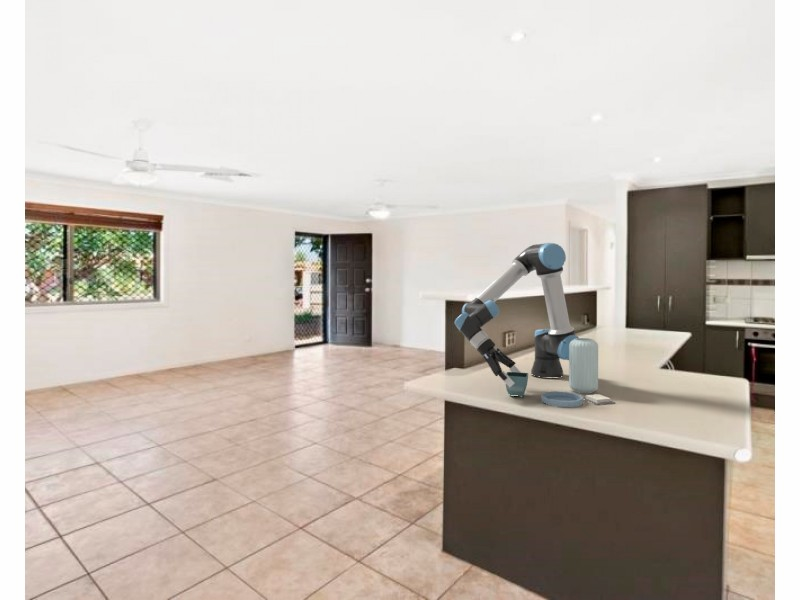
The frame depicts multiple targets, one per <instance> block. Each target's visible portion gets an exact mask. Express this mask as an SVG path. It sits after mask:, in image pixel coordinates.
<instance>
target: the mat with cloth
mask: <svg viewBox="0 0 800 600" xmlns="http://www.w3.org/2000/svg"><path fill="white" fill-rule="evenodd" d="M582 397H583V396H582ZM583 399H585V400H584V401H586V400H587V401H586V402H588V401H589V403H591V402H592V403H591V404H593V403H594V404H593V405H596V404H597V405H596V406H600V404H604V405H612V403H614V404H616V401H613V400H611V398H610V397H608V396H604V395H602V394H600V393H598V394H585V396H584V397H583ZM610 403H611V404H610Z"/></svg>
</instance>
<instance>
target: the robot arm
mask: <svg viewBox="0 0 800 600" xmlns="http://www.w3.org/2000/svg"><path fill="white" fill-rule="evenodd" d="M566 257H567V256H566V251H565V250H564V248H563V247H562V246H561V245H559V244H558V243H553V242H545V243H540V244H532V245H530V246H528V247H527V248H525V249H523V250H522V252H520V253H519V254H518V255H517V256H516V257H515V258H514V259H513V260H512V261H511V265H510V266H508V267H507V268H506V269H505V270H504V271H503V272H502V273H501V274H499V276H498V277H497V278H496V279H495V280H493V282H491V283H490V284H489V285H488V286H487V287H486V288H485V289H484V290H483V291H482V292H480V293H479V294H478V296H476V297H475V298H474V299H473V300H472V301H470V302H467V303H465V304H463V306H462V308H461V314H460V315H459V316H457V317H456V318H455V320H454V325H455V327H456V328H457V329H458V332H460V333H461V334H462V335H463V336H464V337H465V338H466V339H467V340H468V341H469V343H470V345H471V347H474V348H475V349H476V350H477V352H478V353H479V354H480V355H481V356H482V357H483V359H484V360H485V361H486V363H487V364H488V366H489V368H490V370H491V372H492V373H493V374H494V376H496V377H500V379H501V380H502V381H503V382H504V383H505V385H506V384H507V385H508V387H509V388H510V387H511V386H512V385H513V384H514V382H513V381H512V379H511V378H510V377H509V376H508V375H507V374H506V373H507V372H505V371H504V370H502V367H501V365H500V363H501V364H503V365H504V366H506V368H509V371H510V372H520V373H522V372H521V370H520V369H519V368H518V367H517V366H516V362H515V361H514V360H513V359H512V358H510V357H509V356H507V354H505V353H504V352H503V351H501V350H500V348H496V349H495V346H496V343H495V342H494V341H493V340H492V339H491V338H489V335H488V334H487V333H486V332H485V331H484V330H483V329H482V327H483V326H485V325H486V324H488V323H489V322H490V321H492V320H493V319H495V317H497V316H498V315H499V313H500V309H499V307H498V305H497V303H496V302H497V300H499V299H500V298H501V297H502V296H503V295H504V294H505V293H506V292H508V290H509V289H510V288H512V287H513V286H514V285H515V284H516V283H517V282H518V281H519V280H520V279H521V278H522V277H524V276H528V275H529V274H530V273H532V272H533V271H536V272H535V273H536V276H537V277H539V278H540V280H541V285H542V289H543V296H544V300H545V306H546V310H547V316H548V322H549V327H550V328H544V329H543V328H542V329H536V330H535V331H534V337H533V338H534V361H533V363H532V367H531V370H530V375H531V374H533V375H535V376H540V377H561V376H563V377H564V370H563V366H562V364H561V360H563V361H565V360H566V361H569V344H570V342H571V341H572V340H574V339H575V338H580V337H579V336H577V335H576V330H575V327H573V326H571V324H570V317H569V313H568V307H567V302H566V298H565V297H566V296H565V292H564V287H563V281H562V276H561V275H562V273H563V271H564V268H563V266H564V265H565V262H566V259H567V258H566ZM560 359H561V360H560ZM561 378H562V377H561Z"/></svg>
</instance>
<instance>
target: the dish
mask: <svg viewBox="0 0 800 600" xmlns="http://www.w3.org/2000/svg"><path fill="white" fill-rule="evenodd" d="M542 402H544V403H546V404H545V405H547V404H548V405H547V406H550V405H553V406H552V407H555V406H557V407H556V408H578V407H580V406H583V405H584V400H583V396H582V395H581V394H579V393H574V392H568V391H560V390H559V391H556V390H555V391H554V390H553V391H546V392H543V393H541V403H542ZM544 403H543V404H544ZM582 404H583V405H582Z"/></svg>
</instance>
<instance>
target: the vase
mask: <svg viewBox="0 0 800 600" xmlns="http://www.w3.org/2000/svg"><path fill="white" fill-rule="evenodd" d="M568 385H569V387H570V389H571V390H573V392H575V391H576V393H578V392H580V394H592V393H594V392H595V391H597V389H598V388H599V344H598V342H597V341H596V340H594V339H593V338H586V337H579V338H575V339H574V340H572V341H571V342H570V344H569V360H568Z"/></svg>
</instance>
